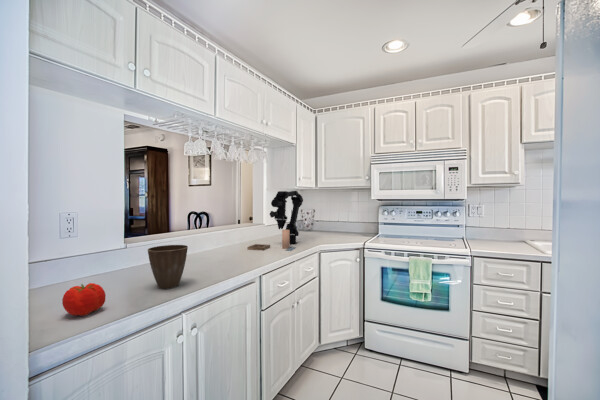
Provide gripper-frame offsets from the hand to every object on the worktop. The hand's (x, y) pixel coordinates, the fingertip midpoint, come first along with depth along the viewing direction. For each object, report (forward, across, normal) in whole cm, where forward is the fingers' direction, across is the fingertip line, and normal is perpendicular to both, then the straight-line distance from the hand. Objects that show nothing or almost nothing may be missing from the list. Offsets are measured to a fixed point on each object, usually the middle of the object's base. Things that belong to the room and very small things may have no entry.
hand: (280, 229), depth 203 cm
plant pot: (+23, +92, -28) cm, 99 cm away
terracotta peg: (+13, +6, +6) cm, 15 cm away
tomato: (+26, +120, -38) cm, 128 cm away
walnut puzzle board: (+15, +9, -13) cm, 21 cm away
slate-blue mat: (+14, +6, +6) cm, 16 cm away
